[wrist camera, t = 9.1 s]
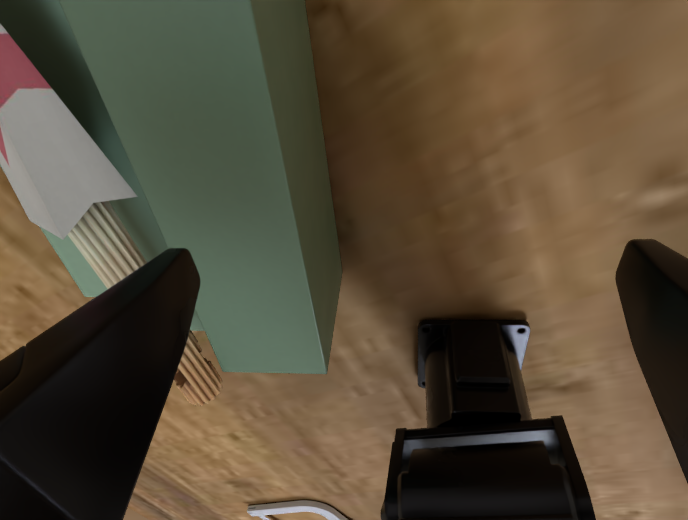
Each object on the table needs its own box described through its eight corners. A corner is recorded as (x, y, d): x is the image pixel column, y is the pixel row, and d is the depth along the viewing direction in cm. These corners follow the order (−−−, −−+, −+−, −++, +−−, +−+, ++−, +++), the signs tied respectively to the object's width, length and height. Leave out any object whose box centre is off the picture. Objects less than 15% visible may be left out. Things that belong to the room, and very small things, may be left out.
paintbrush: (-235, -165, 9) (203, 429, 20) (-79, -177, 10) (249, 385, 22) (-223, -107, 11) (161, 393, 23) (-98, -123, 13) (205, 355, 24)
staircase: (342, 272, 26) (327, 374, 21) (101, 274, 28) (32, 368, 23) (285, -147, 15) (218, -155, 9) (-114, -91, 17) (-351, -71, 12)
